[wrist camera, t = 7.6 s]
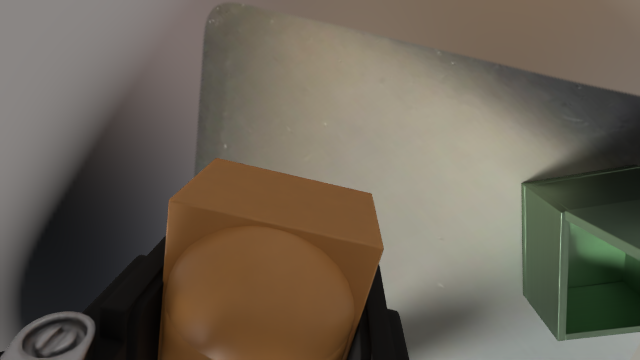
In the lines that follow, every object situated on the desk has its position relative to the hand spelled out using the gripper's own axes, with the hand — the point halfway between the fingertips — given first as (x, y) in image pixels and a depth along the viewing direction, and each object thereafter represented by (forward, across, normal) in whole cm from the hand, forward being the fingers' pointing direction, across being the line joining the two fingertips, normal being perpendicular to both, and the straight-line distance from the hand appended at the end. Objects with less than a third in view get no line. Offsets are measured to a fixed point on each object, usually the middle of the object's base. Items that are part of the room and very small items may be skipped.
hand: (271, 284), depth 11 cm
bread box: (+24, -28, +5) cm, 38 cm away
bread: (0, 0, 0) cm, 0 cm away
